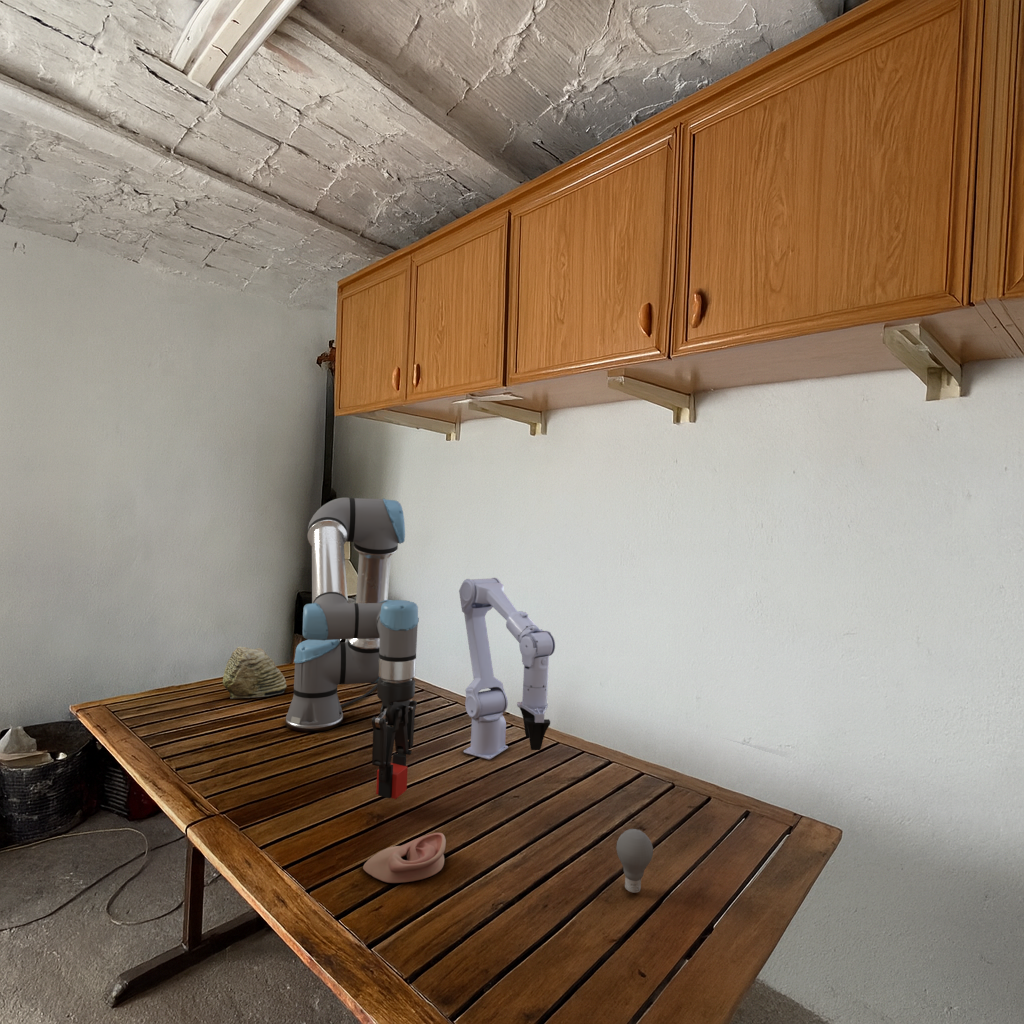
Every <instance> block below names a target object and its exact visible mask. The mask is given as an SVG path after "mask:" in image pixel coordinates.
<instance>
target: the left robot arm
mask: <svg viewBox="0 0 1024 1024" xmlns="http://www.w3.org/2000/svg"><path fill="white" fill-rule="evenodd" d="M405 539H406V523H405V516H404V511H403V507H402V504H401V503H400V502H399V501H398V500H395V499H386V498H365V497H363V498H361V497H360V498H359V497H358V498H357V497H339V498H335V499H332V500H330V501H328V502H326V503H324V504H323V505H321V507H320V508H318V509H317V510H316V512H315V513H314V514H313V515H312V517H311V519H310V521H309V523H308V526H307V542H308V544H309V545H310V546H311V603H306V604H305V605H304V606H303V608H302V609H303V612H302V636H303V638H304V639H306V640H303V641H301V642H299V643H298V644H297V645H296V648H295V655H294V660H293V663H294V680H293V695H292V696H293V697H292V699H291V702H290V704H289V708H288V711H287V713H286V715H285V726H286V728H287V729H289V730H291V731H294V732H295V731H296V732H301V733H316V732H325V731H329V730H332V729H335V728H337V727H339V726H340V725H342V723H343V722H344V713H343V709H342V708H344V707H346V706H349V705H351V704H353V703H356V702H359V701H360V700H362V699H364V698H366V697H367V696H369V695H370V694H372V693H373V692H374V691H375V690H376V689H377V691H376V696H377V698H378V699H379V700H380V702H381V707H380V711H379V715H378V716H372V717H371V725H372V750H371V751H372V752H371V754H372V755H371V756H372V757H371V764H372V766H376V767H378V769H379V788H378V794H377V796H378V797H383V798H385V799H392V798H391V797H392V779H393V765H391V763H394V764H398V765H403V766H407V756H411V755H412V753H413V750H412V748H413V746H414V734H415V719H416V717H415V716H416V709H417V703H418V702H417V700H415V699H414V700H413V698H414V697H415V694H416V679H415V677H416V675H417V674H416V672H417V646H418V644H417V643H418V629H419V628H418V626H419V623H420V622H419V620H420V617H419V606H418V605H417V603H416V602H414V601H410V600H405V599H389V590H390V589H389V586H390V575H391V563H392V555H394V554H395V553H396V552H398V549H399V545H401V544H404V542H405ZM346 543H353V548H354V550H355V551H356V552H357V553H358V569H357V583H356V595H355V602H349V597H348V584H347V583H348V582H347V570H346V569H347V567H346V555H345V544H346ZM341 640H347V641H341ZM357 684H372V685H373V684H375V685H374V686H373V687H372V688H371V689H370V690H368V691H367V692H366V693H363V694H362V695H361V696H359V697H356V698H354V699H352V700H350V701H347V702H344V703H342V704H341V702H340V699H339V695H338V686H339V685H357ZM394 746H395V752H394ZM393 752H394V753H393Z"/></svg>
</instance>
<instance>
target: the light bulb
mask: <svg viewBox="0 0 1024 1024" xmlns="http://www.w3.org/2000/svg"><path fill="white" fill-rule="evenodd" d="M615 849H616V854H617V857H618V859H619V861H620V863H621V865H622V867H623V873H624V874H623V875H624V876H625V878H624V888H625V890H627V891H628V892H630V893H634V894H635V893H639V892H640V891H641V889H642V887H641V886H642V879H643V877H644V875H645V871H646V868H647V867H648V866H649V864H650V863H651V861H652V859H653V855H654V847H653V843H652V841H651V838H649V836H648V835H647V834H646V833H645V832H643V831H642V830H641V829H636V828H629V829H627V830H625V831H623V832H622V833H621V834H620V835H619V837H618V839H617V841H616V847H615Z"/></svg>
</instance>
